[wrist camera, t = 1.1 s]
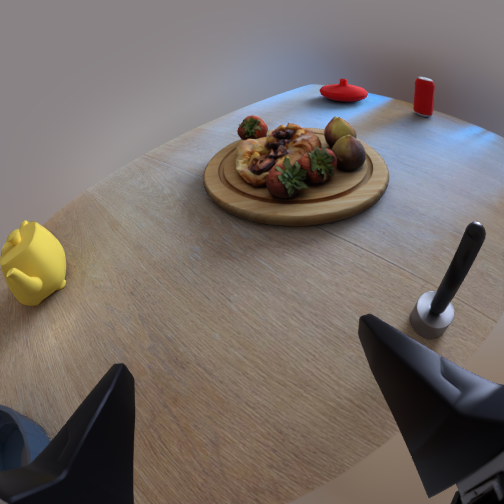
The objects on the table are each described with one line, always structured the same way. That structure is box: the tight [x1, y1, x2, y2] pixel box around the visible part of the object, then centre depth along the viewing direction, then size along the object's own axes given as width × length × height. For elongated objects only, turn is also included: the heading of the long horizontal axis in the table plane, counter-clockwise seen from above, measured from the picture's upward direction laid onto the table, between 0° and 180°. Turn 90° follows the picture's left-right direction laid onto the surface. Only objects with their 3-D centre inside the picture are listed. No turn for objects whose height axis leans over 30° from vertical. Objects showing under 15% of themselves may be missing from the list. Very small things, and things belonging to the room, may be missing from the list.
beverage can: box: [414, 77, 435, 117], centre depth 62 cm, size 6×6×12 cm
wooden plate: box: [203, 115, 389, 226], centre depth 45 cm, size 32×32×8 cm
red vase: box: [320, 79, 368, 102], centre depth 76 cm, size 16×16×7 cm
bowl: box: [0, 405, 51, 471], centre depth 15 cm, size 12×13×5 cm
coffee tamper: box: [411, 222, 486, 339], centre depth 20 cm, size 4×4×13 cm
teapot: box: [0, 220, 66, 306], centre depth 33 cm, size 18×11×11 cm, turn 35°
